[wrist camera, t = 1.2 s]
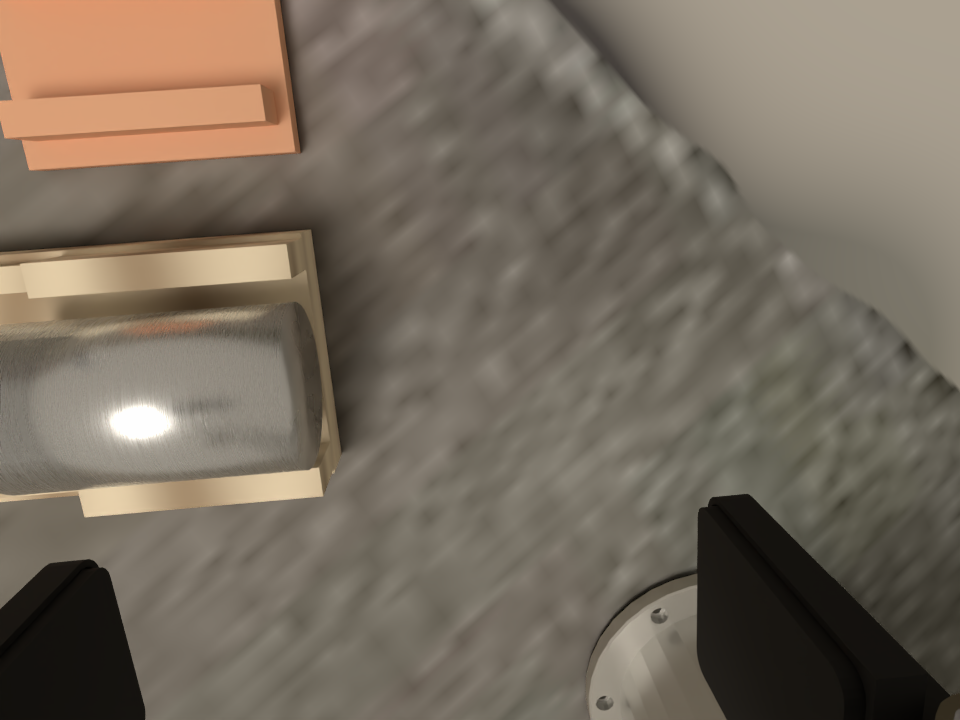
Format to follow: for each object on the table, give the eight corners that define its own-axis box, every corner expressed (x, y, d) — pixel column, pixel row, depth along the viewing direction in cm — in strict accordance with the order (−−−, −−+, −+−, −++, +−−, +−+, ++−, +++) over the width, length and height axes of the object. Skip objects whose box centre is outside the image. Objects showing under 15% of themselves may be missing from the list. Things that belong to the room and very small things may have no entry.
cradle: (269, -76, 24) (247, -110, 21) (300, 153, 26) (283, 149, 23) (-10, -60, 23) (-70, -92, 21) (45, 170, 25) (-3, 169, 23)
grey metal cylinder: (307, 285, 25) (268, 327, 19) (328, 426, 27) (299, 502, 21) (43, 306, 25) (-75, 354, 19) (84, 447, 27) (-12, 530, 21)
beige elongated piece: (311, 229, 27) (282, 239, 22) (341, 453, 29) (321, 507, 24) (-218, 268, 26) (-369, 287, 21) (-138, 495, 28) (-256, 558, 24)
